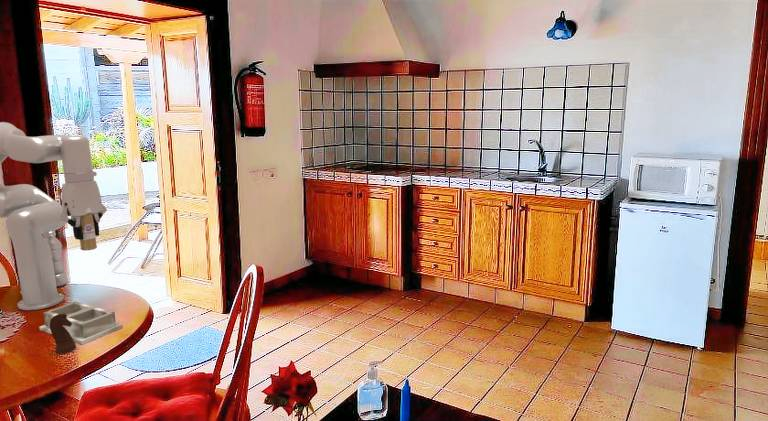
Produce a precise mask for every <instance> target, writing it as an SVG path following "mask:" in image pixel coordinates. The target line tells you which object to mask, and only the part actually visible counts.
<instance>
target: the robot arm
mask: <svg viewBox="0 0 768 421" xmlns="http://www.w3.org/2000/svg"><path fill="white" fill-rule="evenodd" d="M90 148H91V146H90V141H89V138H88V137H87V136H85V135H66V134H55V135H54V134H52V135H51V134H50V135H48V134H47V135H39V136H27V135H26V133H25V132H24V131H23V130H21V129H20V128H17V127H16V126H15V125H13V124H12V123H10V122H6V121H1V122H0V165H1V164H2V163H3V162H4V161H5V160H6V159H7V158H8V157H9V158H10V159H11V160H14V161H17V162H18V161H19V162H25V163H29V164H31V163H32V164H42V163H47V162H54V161H55V162H56V161H62V170H63V176H64V183H62V186H61V204H60V203H59V202H58V201H57V200H55V199H53V197H51V196H50V195H49V194H46V193H45V192H44V191H42V190H41V189H40V188H38V187H37V186H34V185H32V184H29V183H28V184H26V183H22V184H21V183H20V184H19V183H18V184H14V185H3V184H1V183H0V218H1V219H4V218H6V220H5V225H6V229H7V232H8V234H9V236H10V239H11V243H12V246H13V250H14V255H15V260H16V267H17V273H18V279H19V285H20V289H21V290H20V291H19V293H20V295H21V296H22V299H21V300H20V301H19V302H17V308H18V309H20V310H22V311H34V310H35V311H36V310H37V311H38V310H42V309H47V308H51V307H53V306H57V305H58V304H60V303H62V302H63V301H64V299H65V297H64V294H62V293H58V288H57V287H56V280H55V273H54V267H53V260H52V254H51V249H50V246H49V244H48V243H47V241H46V240H45V239H44V237H43V234H45V233H48V232H51V231H54V230H55V231H57V230H59V229H61V228H63V227H64V226H65V225H66V224H68V225H70V227H72V232H73V236H74V239H75V240H79V241H80V240H83V231H82V227H80V217H81V216H84V215H86V214H88V213H86V210H87V208H90V209H91V212H89V213H91V214H93V221H94V227H95V235H96V237H97V236H98V237H99V236H100V226H99V223H100V222H101V219H102V217H103V215H104V214H105V213H106V212H108V209H107V207H105V205H104V204H103V201H102V196H101V193H100V188H99V186H98V182H97V181H96V180H94V179H95V177H97V175H98V173H97V172H96V171H94V170H93V162H92V156H91V149H90ZM69 217H70V218H69Z"/></svg>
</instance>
